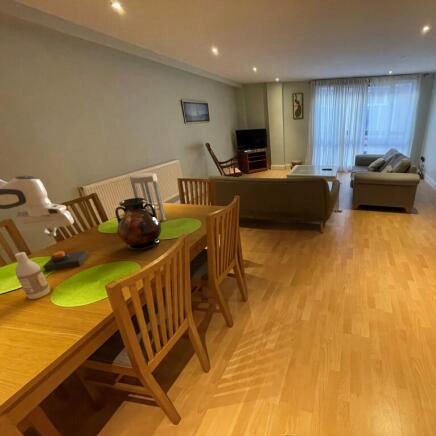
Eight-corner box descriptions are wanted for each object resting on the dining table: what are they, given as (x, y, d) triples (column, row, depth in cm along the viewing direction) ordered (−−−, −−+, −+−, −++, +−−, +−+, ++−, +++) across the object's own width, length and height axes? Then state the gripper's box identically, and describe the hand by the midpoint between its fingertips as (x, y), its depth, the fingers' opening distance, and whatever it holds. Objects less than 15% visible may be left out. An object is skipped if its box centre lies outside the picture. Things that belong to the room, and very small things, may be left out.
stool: (150, 218, 184) (139, 172, 170) (170, 218, 183) (160, 172, 170) (137, 226, 169) (124, 177, 156) (158, 226, 169) (147, 177, 155)
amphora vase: (165, 234, 156) (156, 193, 146) (163, 250, 138) (152, 203, 127) (127, 240, 148) (114, 197, 138) (119, 257, 130) (103, 209, 119)
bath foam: (45, 297, 101) (25, 256, 93) (24, 301, 98) (2, 259, 91) (54, 287, 107) (36, 248, 99) (34, 291, 104) (14, 251, 97)
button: (53, 258, 120) (51, 255, 120) (57, 255, 124) (55, 251, 123) (63, 257, 122) (61, 253, 121) (66, 253, 125) (65, 250, 124)
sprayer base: (45, 271, 118) (41, 263, 116) (56, 260, 128) (53, 252, 126) (80, 266, 123) (76, 257, 121) (88, 255, 132) (85, 247, 130)
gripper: (7, 215, 107) (20, 242, 113) (63, 209, 114) (74, 235, 119) (16, 210, 113) (29, 236, 118) (69, 205, 119) (79, 230, 124)
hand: (52, 236), depth 119 cm, fingers closed
